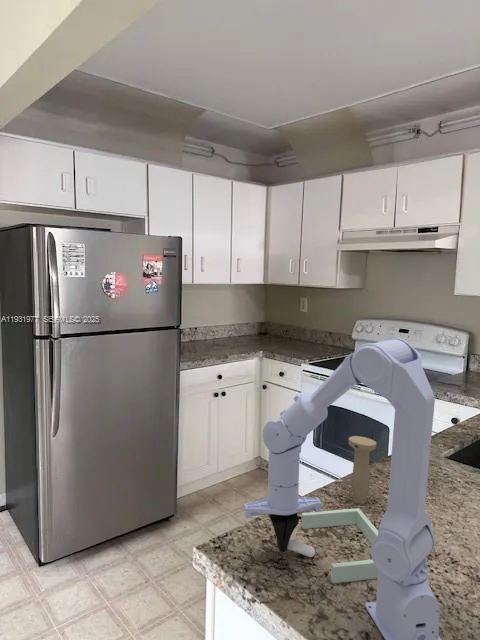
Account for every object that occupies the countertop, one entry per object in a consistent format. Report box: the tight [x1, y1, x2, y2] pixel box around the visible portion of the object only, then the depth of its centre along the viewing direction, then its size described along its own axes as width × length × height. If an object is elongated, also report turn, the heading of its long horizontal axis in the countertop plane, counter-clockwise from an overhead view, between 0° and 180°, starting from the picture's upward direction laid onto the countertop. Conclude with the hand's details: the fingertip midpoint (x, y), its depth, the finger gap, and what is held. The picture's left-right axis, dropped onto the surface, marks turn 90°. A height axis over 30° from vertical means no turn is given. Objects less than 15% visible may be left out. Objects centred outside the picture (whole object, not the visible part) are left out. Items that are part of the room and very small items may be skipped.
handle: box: [348, 435, 377, 505], centre depth 107 cm, size 5×6×15 cm
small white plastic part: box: [287, 538, 319, 558], centre depth 87 cm, size 4×6×3 cm, turn 50°
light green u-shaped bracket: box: [300, 507, 379, 584], centre depth 89 cm, size 18×13×3 cm
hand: (281, 548), depth 86 cm, fingers closed
